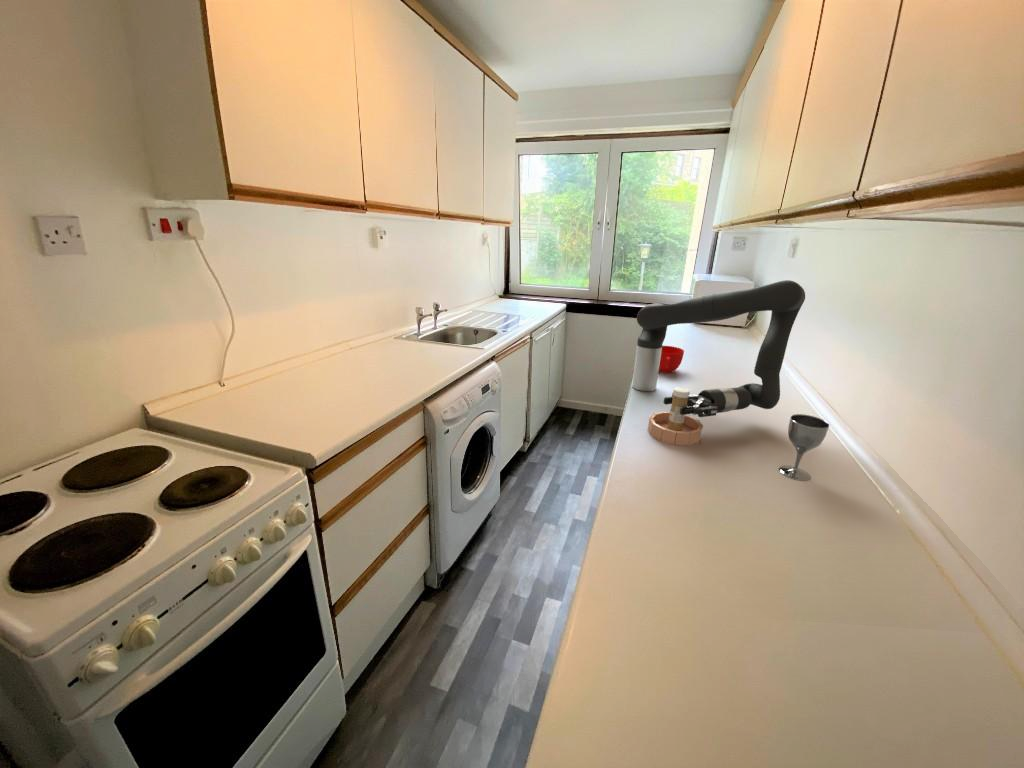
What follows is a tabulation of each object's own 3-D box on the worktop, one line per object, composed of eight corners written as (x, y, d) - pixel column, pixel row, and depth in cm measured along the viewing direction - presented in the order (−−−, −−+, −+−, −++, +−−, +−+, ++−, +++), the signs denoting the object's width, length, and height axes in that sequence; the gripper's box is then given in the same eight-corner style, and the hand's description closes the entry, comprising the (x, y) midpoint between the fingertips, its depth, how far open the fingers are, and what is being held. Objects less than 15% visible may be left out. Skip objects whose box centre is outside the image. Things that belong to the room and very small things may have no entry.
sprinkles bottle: (666, 426, 131) (673, 386, 126) (681, 428, 129) (689, 387, 125) (667, 432, 126) (674, 390, 122) (683, 434, 125) (690, 392, 121)
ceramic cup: (649, 376, 178) (652, 354, 175) (650, 365, 194) (653, 344, 190) (681, 380, 175) (685, 357, 171) (679, 368, 190) (683, 347, 186)
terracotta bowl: (643, 422, 136) (645, 410, 134) (690, 423, 135) (692, 412, 133) (655, 444, 122) (657, 431, 120) (707, 446, 121) (710, 434, 119)
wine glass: (795, 483, 103) (811, 429, 98) (769, 467, 111) (783, 415, 105) (820, 479, 105) (837, 426, 100) (793, 463, 113) (807, 412, 107)
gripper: (703, 381, 134) (659, 386, 129) (738, 398, 121) (690, 403, 117) (699, 403, 136) (656, 408, 132) (732, 421, 124) (686, 427, 119)
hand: (672, 405), depth 124 cm, fingers open, 7 cm apart
